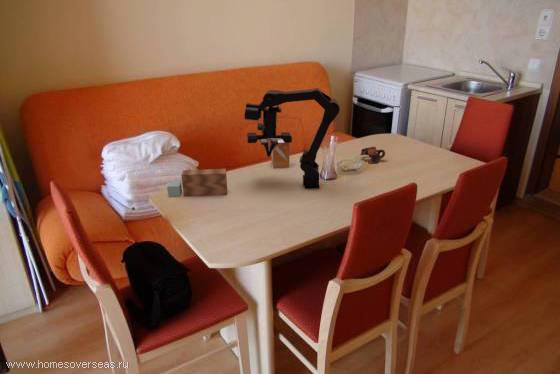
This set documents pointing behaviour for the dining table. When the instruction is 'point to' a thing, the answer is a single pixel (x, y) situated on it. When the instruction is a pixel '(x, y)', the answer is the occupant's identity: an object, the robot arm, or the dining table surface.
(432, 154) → the dining table surface
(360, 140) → the dining table surface
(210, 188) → the brown patterned block
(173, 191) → the teal cube
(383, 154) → the pottery mug
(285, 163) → the small box
